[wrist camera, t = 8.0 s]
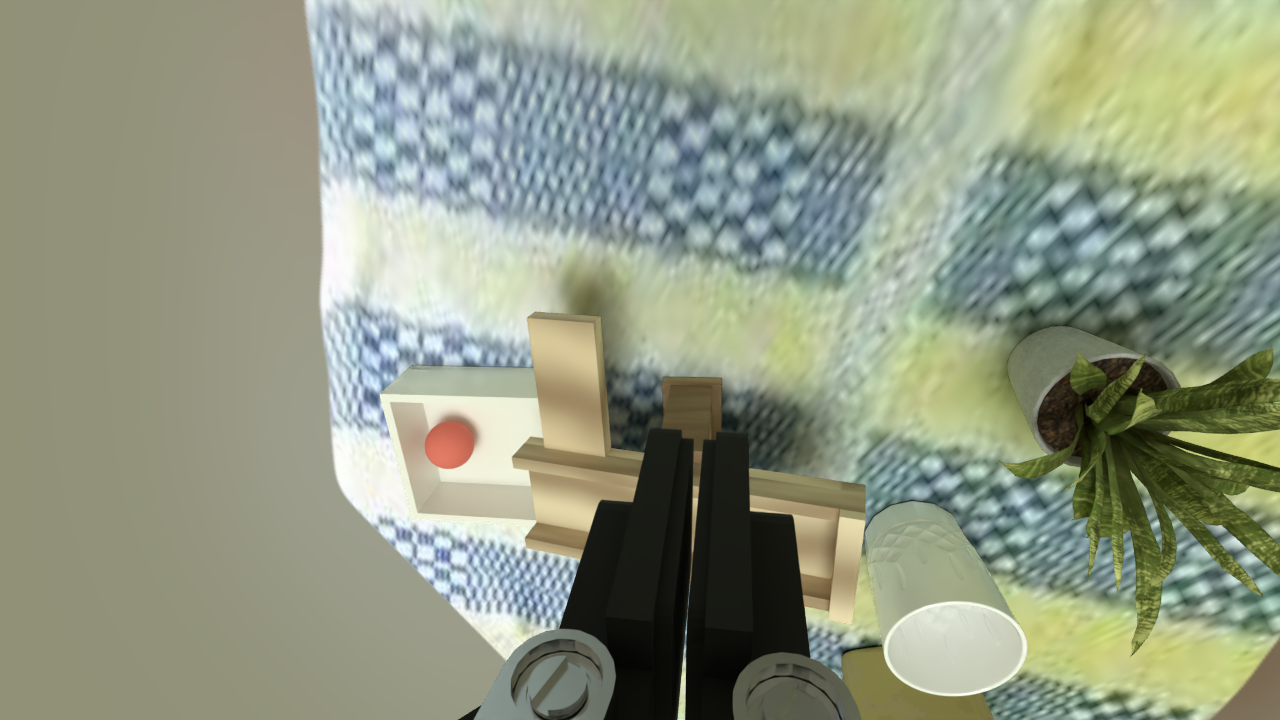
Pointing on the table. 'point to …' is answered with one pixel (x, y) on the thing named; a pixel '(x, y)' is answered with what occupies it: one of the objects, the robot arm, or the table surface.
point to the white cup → (938, 604)
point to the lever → (593, 471)
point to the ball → (449, 445)
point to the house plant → (1145, 450)
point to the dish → (499, 423)
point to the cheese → (901, 693)
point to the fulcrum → (693, 408)
